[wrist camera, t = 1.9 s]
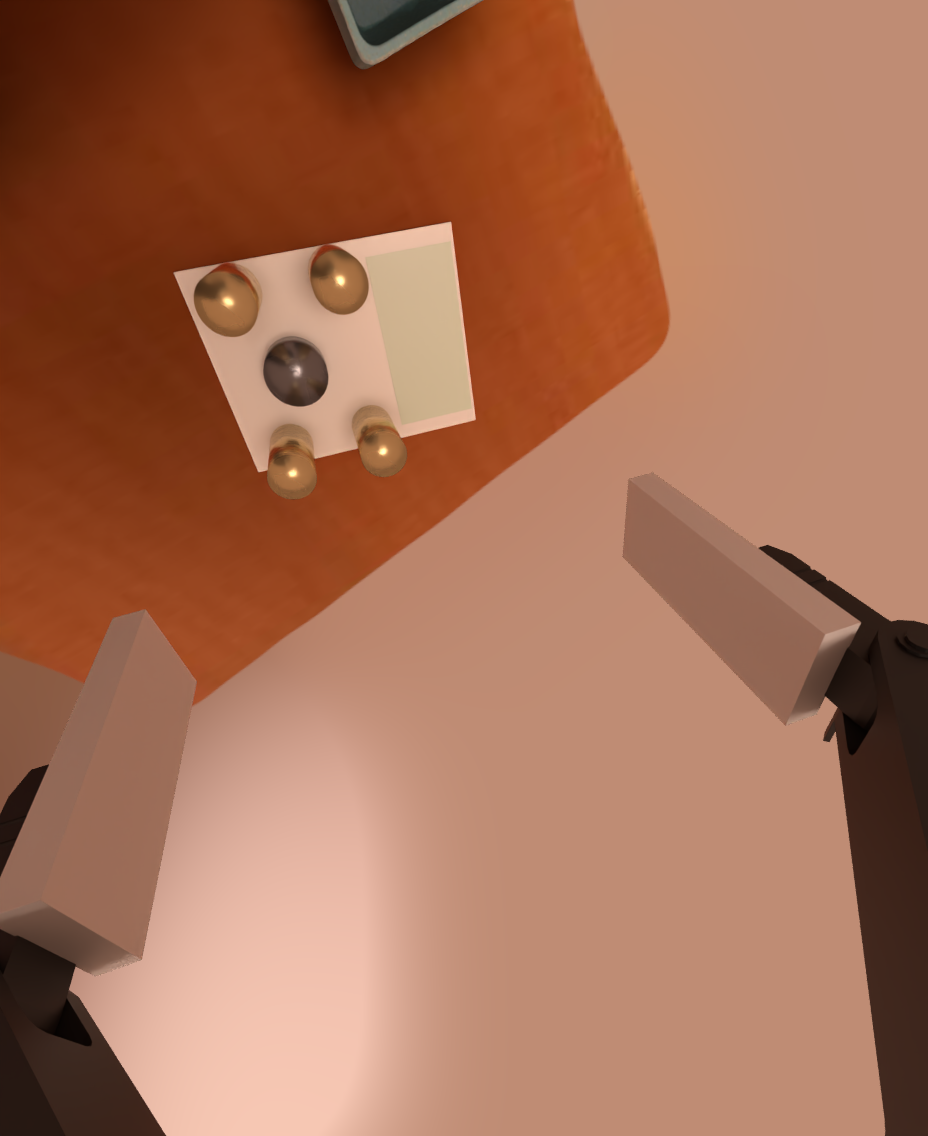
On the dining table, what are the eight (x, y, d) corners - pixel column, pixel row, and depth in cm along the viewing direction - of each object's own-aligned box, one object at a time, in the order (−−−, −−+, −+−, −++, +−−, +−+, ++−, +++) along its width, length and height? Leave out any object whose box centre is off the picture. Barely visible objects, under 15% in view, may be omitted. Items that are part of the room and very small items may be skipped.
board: (174, 271, 30) (173, 272, 29) (449, 221, 32) (451, 222, 32) (258, 469, 38) (258, 472, 37) (473, 417, 40) (475, 420, 39)
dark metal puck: (255, 343, 32) (253, 349, 31) (316, 330, 33) (317, 336, 31) (277, 403, 35) (276, 412, 33) (334, 391, 35) (335, 399, 34)
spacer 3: (301, 249, 30) (303, 256, 26) (349, 240, 31) (360, 245, 26) (316, 303, 32) (321, 319, 27) (362, 294, 33) (374, 309, 28)
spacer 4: (346, 410, 36) (356, 439, 32) (386, 400, 37) (401, 428, 32) (357, 448, 38) (367, 481, 33) (395, 439, 39) (410, 470, 34)
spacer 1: (199, 267, 29) (182, 278, 25) (251, 258, 30) (244, 267, 25) (221, 322, 31) (209, 342, 27) (269, 313, 32) (266, 331, 27)
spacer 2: (263, 429, 36) (259, 462, 31) (305, 419, 36) (308, 450, 31) (278, 467, 37) (277, 504, 33) (318, 457, 38) (322, 492, 33)
